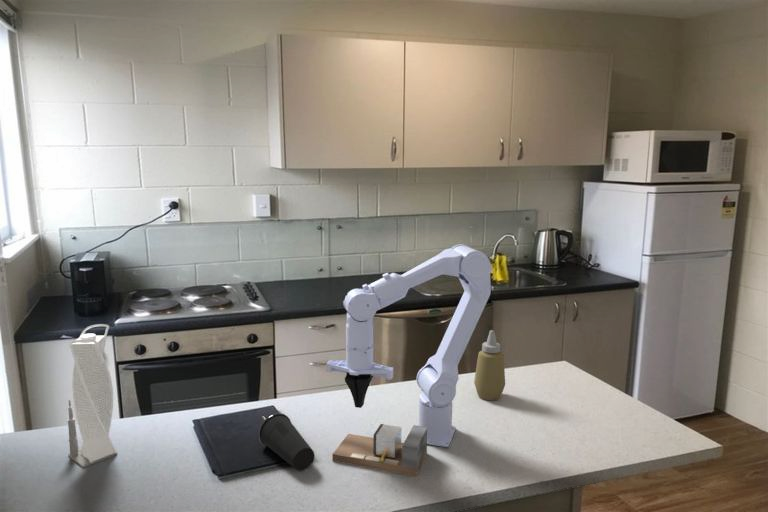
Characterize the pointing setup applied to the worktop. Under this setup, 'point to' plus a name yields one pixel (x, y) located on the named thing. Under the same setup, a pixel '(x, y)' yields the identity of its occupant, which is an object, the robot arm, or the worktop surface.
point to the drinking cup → (286, 441)
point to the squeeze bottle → (490, 370)
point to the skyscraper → (91, 400)
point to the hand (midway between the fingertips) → (359, 405)
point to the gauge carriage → (387, 441)
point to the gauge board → (405, 462)
